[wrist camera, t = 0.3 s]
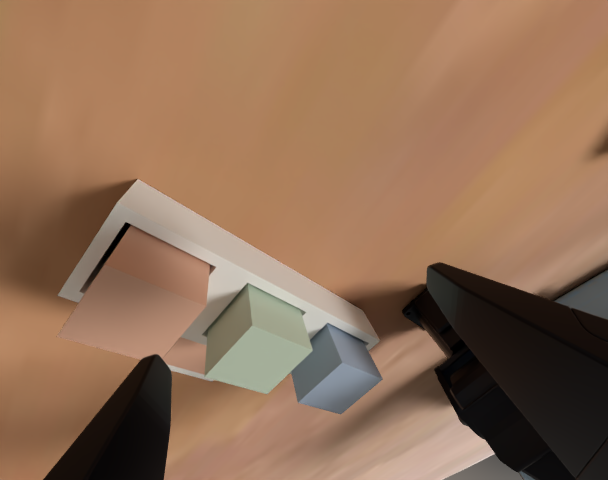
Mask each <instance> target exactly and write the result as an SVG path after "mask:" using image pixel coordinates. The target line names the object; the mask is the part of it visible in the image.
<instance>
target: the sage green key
mask: <svg viewBox="0 0 608 480" xmlns="http://www.w3.org/2000/svg"><path fill="white" fill-rule="evenodd" d="M312 351H313V349H312V346H311V343H310V339H309V336H308V333H307V330H306V327H305V324H304V321H303V317H302V314H301V311H300V309H299V308H297V307H295V306H293V305H291V304H289V303H287V302H285V301H283V300H281V299H279V298H277V297H275V296H273V295H271V294H269V293H267V292H265V291H263V290H261V289H259V288H257V287H255V286H253V285H251V284H249V283H247V284H246V285H245V286H244V287H243V288H242V289H241V291H240V292H239V293H238V294H237V295H236V296H235V297H234V299H233V300H232V301H231V302H230V303H229V304H228V305H227V307H226V308H225V309H224V310H223V311H222V312H221V313H220V315H219V316H218V317H217V318H216V319H215V320H214V321H213V323H212V324H211V325H210V326H209V327H208V334H207V347H206V361H205V374H204V377H206V378H210V379H213V380H217V381H221V382H224V383H228V384H232V385H235V386H239V387H243V388H246V389H250V390H254V391H257V392H261V393H265V394H268V393H269V392H270V391H271V390H272V389H273V388H274V387H275V386H276V385H277V384H278V383H279V382H280V381H282V380H283V379H284V378H285V377H286V376H287V375H288V374H289V373H290V372H291V371H292V370H293V369H294V368H295V367H296V366H297V365H298V364H299V363H300V362H301V361H302V360H304V359H305V358H306V357H307V356H308V355H309V354H310V353H311V352H312Z"/></svg>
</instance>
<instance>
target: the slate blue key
mask: <svg viewBox="0 0 608 480" xmlns="http://www.w3.org/2000/svg"><path fill="white" fill-rule="evenodd" d="M310 343H311V346H312V349H313V351H312V352H311V353H310V354H309V355H308V356H307V357H306V358H305V359H304V360H302V361H301V362H300V363H299V364H298V365H297V366H296V367H295V368H294V369H293V370H292V371H291V373H292V378H293V382H294V387H295V391H296V396H297V400H298V403H301V404H305V405H309V406H312V407H316V408H320V409H323V410H327V411H331V412H334V413H338V414H342V413H343V412H344V411H345V410H347V409H348V408H349V407H350V406H351V405H353V404H354V403H355V402H356V401H357V400H359V399H360V398H361V397H362V396H363V395H365V394H366V393H367V392H368V391H369V390H371V389H372V388H373V387H374V386H375V385H376V384H378V383H379V382H380V381H381V380H382V377H381V375H380V373H379V371H378V369H377V367H376V365H375V363H374V361H373V360H372V358H371V356H370V354H369V352H368V350H367V348H366V346H365V344H364V342H363V340H361V339H359V338H357V337H355V336H353V335H351V334H349V333H347V332H345V331H343V330H341V329H339V328H337V327H335V326H333V325H331V324H329V323H327V324H326V325H325V326H324V327H323V328H322V329H320V330H319V331H318V332H317V333H316V334H315V335H314V336H313V337H312V338H311V339H310Z"/></svg>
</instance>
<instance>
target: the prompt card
mask: <svg viewBox="0 0 608 480" xmlns="http://www.w3.org/2000/svg"><path fill="white" fill-rule="evenodd" d="M206 347H207V346H206V345H203V344H200V343H197V342H194V341H191V340H188V339H185V338H182V337H180V338H179V339H178V340H177V342H176V343H175V344H174V345H173V346H172V347H171V349H170V350H169V351H168V352H167V353H166V355H165V356H164V357H163V358H162V359H163V360H164V362H165V363H166V364H167V365H168V367H169V368H170V370H171V371H175V372H179V373H182V374H186V375H190V376H193V377H197V378H201V379H205V380H208V381H213V379H210V378H206V377H204V374H205V361H206Z"/></svg>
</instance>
